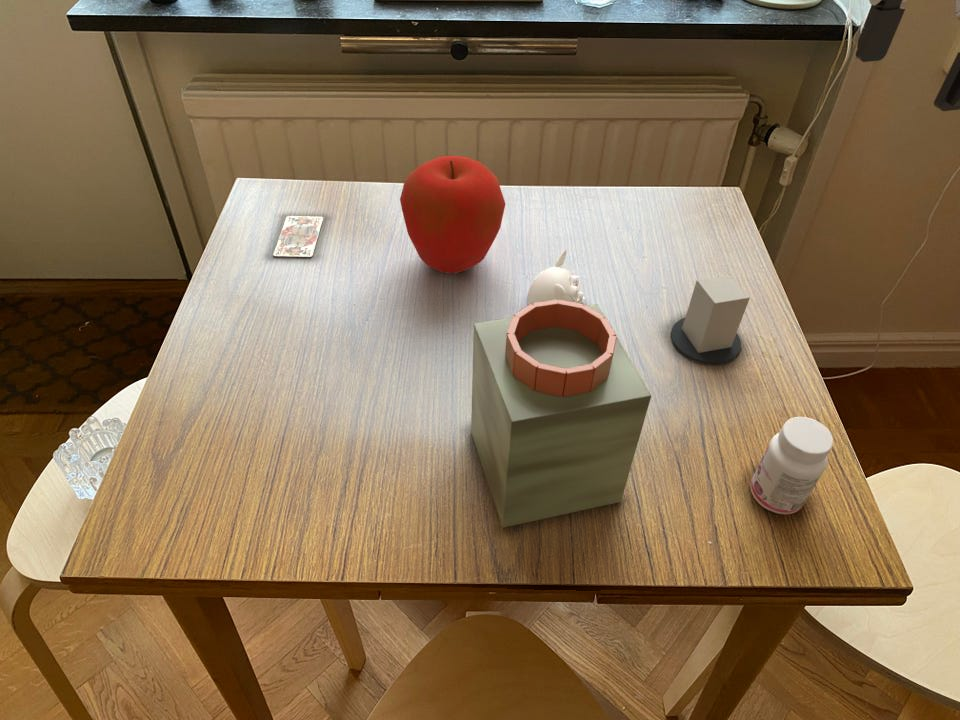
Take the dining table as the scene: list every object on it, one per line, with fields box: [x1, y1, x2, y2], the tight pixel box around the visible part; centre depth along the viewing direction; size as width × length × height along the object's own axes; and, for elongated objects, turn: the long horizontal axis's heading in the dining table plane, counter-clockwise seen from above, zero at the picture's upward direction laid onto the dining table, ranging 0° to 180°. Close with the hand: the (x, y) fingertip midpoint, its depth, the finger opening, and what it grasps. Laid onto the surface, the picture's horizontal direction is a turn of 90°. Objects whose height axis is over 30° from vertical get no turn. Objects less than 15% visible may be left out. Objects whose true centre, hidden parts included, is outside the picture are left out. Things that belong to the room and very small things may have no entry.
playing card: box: [272, 215, 324, 258], centre depth 90 cm, size 9×5×1 cm, turn 0°
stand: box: [470, 303, 652, 528], centre depth 61 cm, size 11×11×14 cm
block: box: [682, 274, 750, 353], centre depth 76 cm, size 4×4×7 cm
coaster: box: [670, 317, 742, 366], centre depth 78 cm, size 8×8×1 cm
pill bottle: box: [750, 416, 834, 515], centre depth 61 cm, size 5×5×8 cm
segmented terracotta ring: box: [505, 300, 618, 397], centre depth 55 cm, size 8×8×2 cm
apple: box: [399, 155, 506, 274], centre depth 82 cm, size 12×12×14 cm
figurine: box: [526, 249, 586, 307], centre depth 79 cm, size 8×6×7 cm
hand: (905, 82), depth 51 cm, fingers open, 8 cm apart
